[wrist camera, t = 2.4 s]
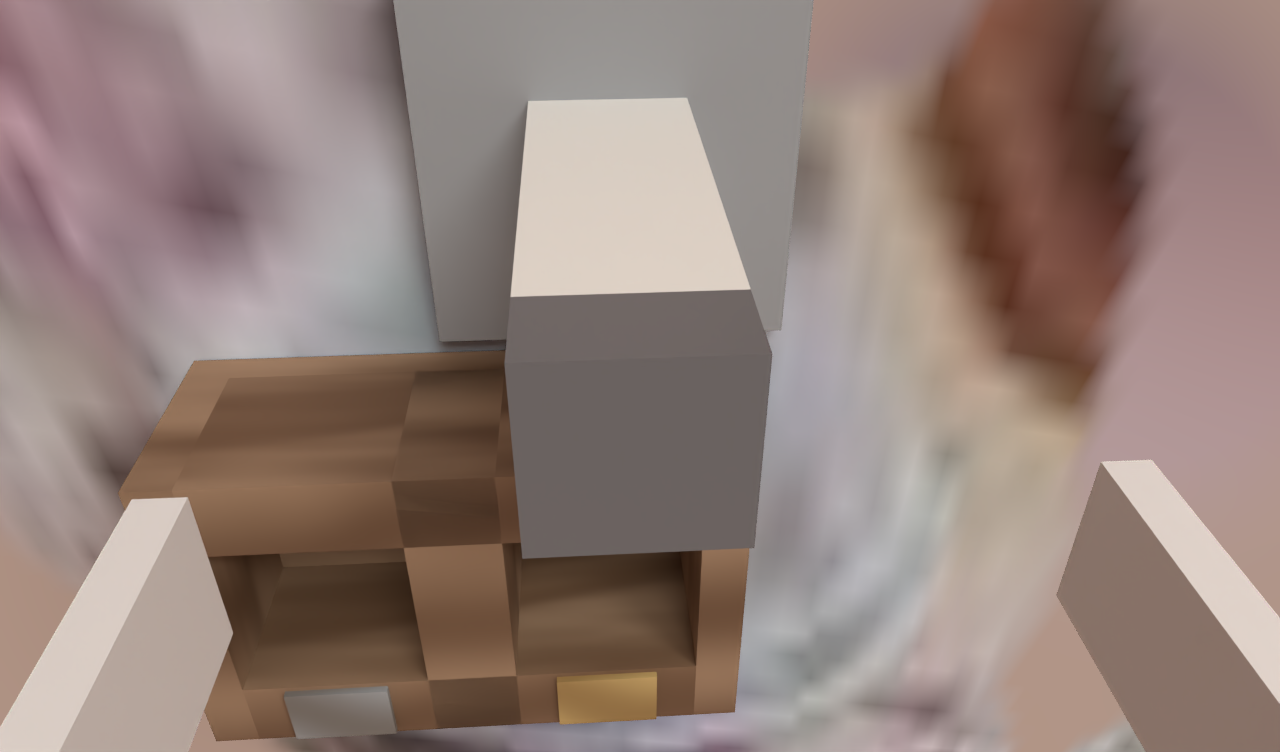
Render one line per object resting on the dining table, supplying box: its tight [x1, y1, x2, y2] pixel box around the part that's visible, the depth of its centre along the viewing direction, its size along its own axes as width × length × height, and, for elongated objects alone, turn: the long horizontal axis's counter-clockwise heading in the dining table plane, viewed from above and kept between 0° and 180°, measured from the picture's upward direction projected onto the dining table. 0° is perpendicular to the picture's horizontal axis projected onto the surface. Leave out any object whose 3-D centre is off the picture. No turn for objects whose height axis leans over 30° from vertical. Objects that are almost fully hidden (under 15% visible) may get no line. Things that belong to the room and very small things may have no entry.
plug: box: [504, 98, 772, 559], centre depth 20 cm, size 4×4×12 cm
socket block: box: [118, 350, 749, 741], centre depth 30 cm, size 10×16×6 cm, turn 90°
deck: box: [393, 0, 813, 342], centre depth 26 cm, size 10×10×1 cm
